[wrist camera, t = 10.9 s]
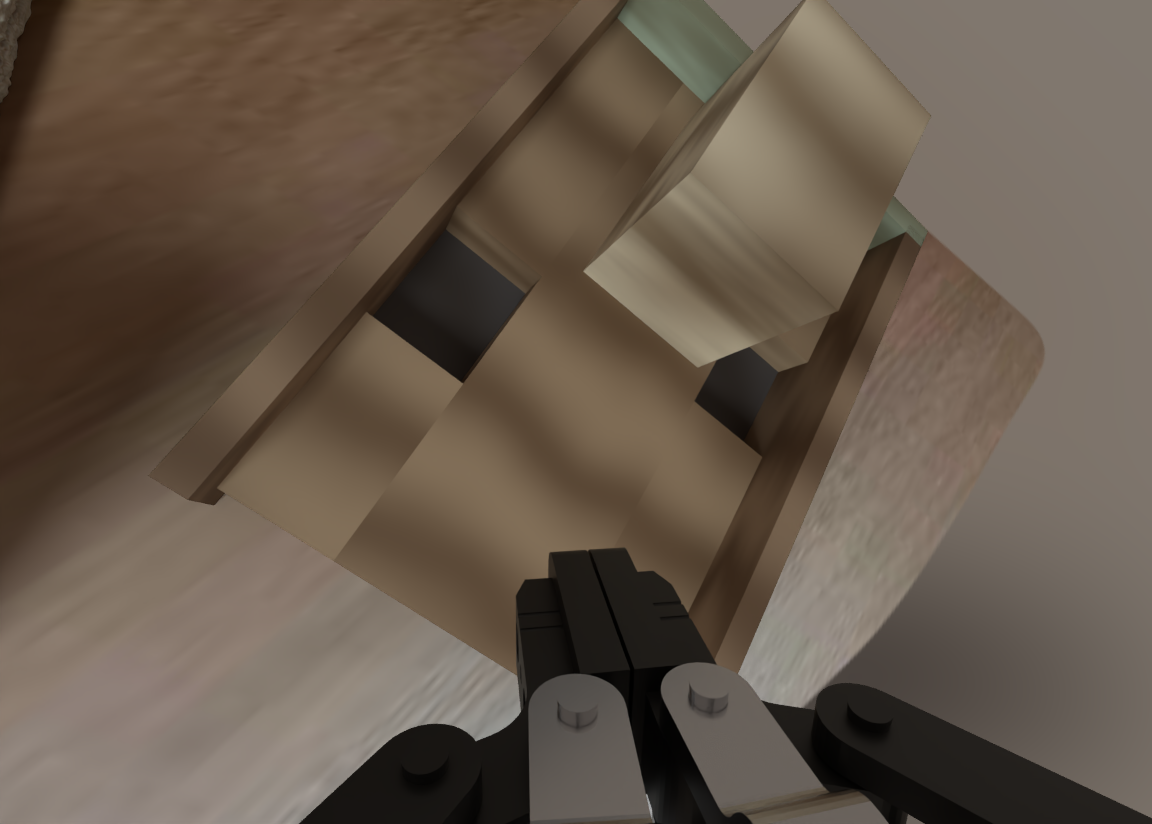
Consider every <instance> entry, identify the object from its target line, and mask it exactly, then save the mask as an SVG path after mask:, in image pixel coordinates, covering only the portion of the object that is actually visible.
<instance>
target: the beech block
mask: <svg viewBox="0 0 1152 824" xmlns="http://www.w3.org/2000/svg"><path fill="white" fill-rule="evenodd" d="M930 117H931V115H930V114H929V113H928V112H927V111H926V109H925V108H924V107H923V106H922V105H921V104H920V103H919V102H918V101H917V100H916V99H915V98H914V96H913V95H912V94H911V93H910V92H909V91H908V90H907V89H906V88H905V86H904V85H903V84H902V83H901V82H900V81H899V80H898V79H897V78H896V77H895V76H894V74H893V73H892V72H891V71H890V70H889V69H888V68H887V67H886V65H885V64H883V62H882V61H881V60H880V59H879V58H878V57H877V56H876V54H875V53H874V52H873V51H872V50H871V49H870V48H869V47H868V46H867V45H866V44H865V42H863V40H862V39H861V38H860V37H859V36H858V35H857V34H856V32H855V31H854V30H853V29H852V28H851V27H850V26H849V25H848V24H847V23H846V21H845V20H844V19H843V18H842V17H841V16H840V15H839V14H838V13H837V12H836V10H834V8H833V7H832V6H831V5H830V4H829V3H828V2H827V1H826V0H802V2H801V3H800V4H799V5H798V6H797V7H796V8H795V9H794V10H793V11H792V12H791V13H790V14H789V15H788V16H787V17H786V18H785V20H784V21H783V22H782V23H781V24H780V25H779V26H778V27H777V28H776V29H775V30H774V31H773V32H772V33H771V34H770V35H769V37H768V38H767V39H766V40H765V41H764V42H763V43H762V44H761V45H760V46H759V47H758V48H757V49H756V50H755V51H754V52H753V53H752V54H751V56H750V57H749V58H748V59H747V60H746V61H745V62H744V63H743V64H742V65H741V66H740V67H739V68H738V69H737V70H736V71H735V72H734V74H733V75H732V76H731V77H730V78H729V79H728V80H727V81H726V82H725V83H724V84H723V85H722V86H721V87H720V88H719V89H718V90H717V92H716V93H715V94H714V95H713V96H712V97H711V98H710V99H709V100H708V101H707V102H706V103H705V104H704V105H703V106H702V107H701V108H700V110H699V111H698V112H697V113H696V114H695V115H694V116H693V117H692V118H691V119H690V120H689V122H688V123H687V125H686V126H685V128H684V129H683V130H682V132H681V133H680V135H679V136H678V137H677V139H676V140H675V142H674V143H673V145H672V146H671V147H670V149H669V150H668V152H667V153H666V154H665V156H664V157H663V159H662V160H661V162H660V163H659V164H658V166H657V167H656V169H655V170H654V171H653V173H652V174H651V176H650V177H649V179H648V180H647V181H646V183H645V184H644V186H643V187H642V189H641V190H640V191H639V193H638V194H637V196H636V197H635V198H634V200H633V201H632V203H631V204H630V206H629V207H628V208H627V210H626V211H625V213H624V214H623V215H622V217H621V218H620V220H619V221H618V223H617V224H616V225H615V227H614V228H613V230H612V231H611V232H610V234H609V235H608V237H607V238H606V240H605V241H604V242H603V244H602V245H601V247H600V248H599V250H598V251H597V252H596V254H595V255H594V257H593V258H592V259H591V261H590V262H589V264H588V265H587V267H586V268H585V269H584V271H583V272H585V273H586V274H587V275H588V276H589V277H591V278H592V279H593V280H594V281H595V282H596V283H598V284H599V285H600V286H601V287H602V288H604V289H605V290H606V291H607V292H608V293H610V294H611V295H612V296H613V297H614V298H615V299H617V300H618V301H619V302H620V303H621V304H623V305H624V306H625V307H626V308H627V309H629V310H630V311H631V312H632V313H633V314H634V315H636V316H637V317H638V318H639V319H640V320H642V321H643V322H644V323H645V324H646V325H648V326H649V327H650V328H651V329H652V330H653V331H655V332H656V333H657V334H658V335H659V336H661V337H662V338H663V339H664V340H665V341H667V342H668V343H669V344H670V345H671V346H672V347H674V348H675V349H676V350H677V351H678V352H680V353H681V354H682V355H683V356H684V357H686V358H687V359H688V360H689V361H690V362H691V363H693V364H694V365H695V366H696V367H697V368H698V367H700V366H703V365H705V364H708V363H710V362H713V361H715V360H718V359H720V358H723V357H725V356H728V355H730V354H733V353H735V352H738V351H740V350H743V349H745V348H747V347H750V346H752V345H755V344H757V343H760V342H762V341H765V340H767V339H770V338H772V337H775V336H777V335H780V334H782V333H785V332H787V331H790V330H792V329H795V328H797V327H800V326H802V325H805V324H807V323H810V322H812V321H815V320H817V319H820V318H822V317H824V316H827V315H829V314H832V313H834V312H837V311H839V309H840V306H841V304H842V302H843V300H844V298H845V296H846V294H847V292H848V290H849V288H850V285H851V283H852V281H853V279H854V277H855V275H856V273H857V271H858V269H859V267H860V264H861V262H862V260H863V258H864V256H865V254H866V252H867V250H868V248H869V246H870V243H871V241H872V239H873V237H874V235H875V233H876V231H877V229H878V227H879V225H880V222H881V220H882V218H883V216H884V214H885V212H886V210H887V208H888V206H889V204H890V201H891V199H892V197H893V195H894V193H895V191H896V189H897V186H898V185H899V182H900V180H901V178H902V176H903V174H904V172H905V170H906V168H907V166H908V164H909V162H910V159H911V157H912V155H913V153H914V151H915V149H916V147H917V145H918V143H919V140H920V138H921V136H922V134H923V132H924V130H925V128H926V126H927V124H928V122H929V120H930Z"/></svg>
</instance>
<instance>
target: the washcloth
mask: <svg viewBox="0 0 1152 824" xmlns="http://www.w3.org/2000/svg"><path fill="white" fill-rule="evenodd" d="M31 1H32V0H0V103H1V102H2V101H3V98H4V97H5V96H6V95H7V94H8V87H9V86H10V85H11V81H10V79H9V78H10V77H11V75H12V70H13V69H14V67H13V62H14V60H15V59H16V58H17V50H18V44H17V38H18V37H19V36H20V35H21V34H22V33H23V31H24V27H25V23H26V22H27V20H28V19H29V17H30V16H31V9H30V6H31Z"/></svg>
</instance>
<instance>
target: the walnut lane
mask: <svg viewBox="0 0 1152 824" xmlns="http://www.w3.org/2000/svg"><path fill="white" fill-rule="evenodd" d="M752 53H753V51H752V50H751V49H750V48H749V47H748V46H747V45H746V44H745V43H744V42H743V41H742V40H741V38H740V37H739V36H738V35H737V34H735V32H734V31H733V30H732V29H731V28H730V27H729V26H728V25H727V24H726V23H725V22H724V21H723V20H722V19H721V18H720V17H719V16H718V15H717V14H716V13H715V12H714V11H713V10H712V9H711V8H710V7H709V6H708V5H707V4H706V2H705V1H704V0H580V1H579V2H578V3H577V4H576V5H575V7H574V8H573V9H572V10H571V11H570V12H569V13H568V14H567V15H566V16H565V18H564V19H563V20H562V21H561V22H560V23H559V24H558V25H557V26H556V27H555V29H554V30H553V31H552V32H551V33H550V34H549V35H548V36H547V37H546V38H545V40H544V41H543V42H542V43H541V44H540V45H539V46H538V47H537V48H536V49H535V51H534V52H533V53H532V54H531V55H530V56H529V57H528V58H527V59H526V61H525V62H524V63H523V64H522V65H521V66H520V67H519V68H518V69H517V70H516V72H515V73H514V74H513V75H512V76H511V77H510V78H509V79H508V80H507V81H506V83H505V84H504V85H503V86H502V87H501V88H500V89H499V90H498V91H497V92H496V94H495V95H494V96H493V97H492V98H491V99H490V100H489V101H488V102H487V103H486V105H485V106H484V107H483V108H482V109H481V110H480V111H479V112H478V113H477V114H476V116H475V117H474V118H473V119H472V120H471V121H470V122H469V123H468V124H467V125H466V127H465V128H464V129H463V130H462V131H461V132H460V133H459V134H458V135H457V136H456V138H455V139H454V140H453V141H452V142H451V143H450V144H449V145H448V146H447V147H446V149H445V150H444V151H443V152H442V153H441V154H440V155H439V156H438V157H437V158H436V160H435V161H434V162H433V163H432V164H431V165H430V166H429V167H428V168H427V169H426V171H425V172H424V173H423V174H422V175H421V176H420V177H419V178H418V179H417V180H416V182H415V183H414V184H413V185H412V186H411V187H410V188H409V189H408V190H407V191H406V193H405V194H404V195H403V196H402V197H401V198H400V199H399V200H398V201H397V202H396V204H395V205H394V206H393V207H392V208H391V209H390V210H389V211H388V212H387V214H386V215H385V216H384V217H383V218H382V219H381V220H380V221H379V222H378V223H377V225H376V226H375V227H374V228H373V229H372V230H371V231H370V232H369V233H368V234H367V236H366V237H365V238H364V239H363V240H362V241H361V242H360V243H359V244H358V245H357V247H356V248H355V249H354V250H353V251H352V252H351V253H350V254H349V255H348V256H347V258H346V259H345V260H344V261H343V262H342V263H341V264H340V265H339V266H338V267H337V269H336V270H335V271H334V272H333V273H332V274H331V275H330V276H329V277H328V278H327V280H326V281H325V282H324V283H323V284H322V285H321V286H320V287H319V288H318V289H317V291H316V292H315V293H314V294H313V295H312V296H311V297H310V298H309V299H308V300H307V302H306V303H305V304H304V305H303V306H302V307H301V308H300V309H299V310H298V311H297V313H296V314H295V315H294V316H293V317H292V318H291V319H290V320H289V321H288V322H287V324H286V325H285V326H284V327H283V328H282V329H281V330H280V331H279V332H278V333H277V335H276V336H275V337H274V338H273V339H272V340H271V341H270V342H269V343H268V344H267V346H266V347H265V348H264V349H263V350H262V351H261V352H260V353H259V354H258V355H257V357H256V358H255V359H254V360H253V361H252V362H251V363H250V364H249V365H248V366H247V368H246V369H245V370H244V371H243V372H242V373H241V374H240V375H239V376H238V378H237V379H236V380H235V381H234V382H233V383H232V384H231V385H230V386H229V387H228V389H227V390H226V391H225V392H224V393H223V394H222V395H221V396H220V397H219V398H218V400H217V401H216V402H215V403H214V404H213V405H212V406H211V407H210V408H209V409H208V411H207V412H206V413H205V414H204V415H203V416H202V417H201V418H200V419H199V420H198V422H197V423H196V424H195V425H194V426H193V427H192V428H191V429H190V430H189V431H188V433H187V434H186V435H185V436H184V437H183V438H182V439H181V440H180V441H179V442H178V444H177V445H176V446H175V447H174V448H173V449H172V450H171V451H170V452H169V453H168V455H167V456H166V457H165V458H164V459H163V460H162V461H161V462H160V463H159V464H158V466H157V467H156V468H155V469H154V470H153V471H152V472H151V473H150V474H149V475H148V476H149V477H151V478H153V479H154V480H156V481H158V482H159V483H161V484H163V485H164V486H166V487H167V488H169V489H171V490H172V491H174V492H176V493H177V494H179V495H181V496H182V497H184V498H185V499H187V500H191V501H196V502H201V503H205V504H210V505H215V504H216V502H217V501H218V500H219V499H220V498H221V496H222V495H223V494H224V493H226V494H227V495H229V496H230V497H232V498H234V499H235V500H237V501H238V502H240V503H242V504H243V505H245V506H246V507H248V508H250V509H251V510H253V511H254V512H256V513H258V514H259V515H261V516H262V517H264V518H266V519H267V520H269V521H270V522H272V523H274V524H275V525H277V526H278V527H280V528H282V529H283V530H285V531H286V532H288V533H290V534H291V535H293V536H294V537H296V538H298V539H299V540H301V541H302V542H304V543H306V544H307V545H309V546H310V547H312V548H314V549H315V550H317V551H318V552H320V553H322V554H323V555H325V556H326V557H328V558H330V559H331V560H333V561H334V562H336V563H338V564H339V565H341V566H342V567H344V568H346V569H347V570H349V571H350V572H352V573H354V574H355V575H357V576H358V577H360V578H362V579H363V580H365V581H366V582H368V583H370V584H371V585H373V586H374V587H376V588H378V589H379V590H381V591H382V592H384V593H386V594H387V595H389V596H390V597H392V598H394V599H395V600H397V601H398V602H400V603H402V604H403V605H405V606H406V607H408V608H410V609H411V610H413V611H414V612H416V613H418V614H419V615H421V616H422V617H424V618H426V619H427V620H429V621H431V622H432V623H434V624H435V625H437V626H439V627H440V628H442V629H443V630H445V631H447V632H448V633H450V634H451V635H453V636H455V637H456V638H458V639H459V640H461V641H463V642H464V643H466V644H467V645H469V646H471V647H472V648H474V649H475V650H477V651H479V652H480V653H482V654H483V655H485V656H487V657H488V658H490V659H491V660H493V661H495V662H496V663H498V664H499V665H501V666H503V667H504V668H506V669H507V670H509V671H511V672H512V673H514V674H515V675H517V667H516V594H517V592H518V591H519V589H520V587H521V585H522V584H523V582H524V580H525V579H540V578H548V559H549V553H550V552H558V551H574V550H587V552H588V550H589V549H605V548H621V547H625V548H626V549H627V551H628V553H629V555H630V557H631V559H632V561H633V564H634V566H635V568H636V570H637V572H641V571H655V572H656V573H657V574H659V575H660V576H661V577H663V578H664V579H665V580H667V581H668V582H669V583H671V584H672V586H673V587H674V589H675V591H676V593H677V595H678V596H679V598H680V600H681V604H683V605H684V607H685V609H686V610H687V612H688V614H689V619H690V618H691V619H692V621H693V623H694V625H695V626H696V628H697V630H698V632H699V633H700V635H701V637H702V639H703V641H704V642H705V644H706V646H707V648H708V649H709V651H710V653H711V655H712V656H713V658H714V660H715V662H716V664H717V665H719V666H722V667H725V668H727V669H729V670H731V671H733V672H735V673H737V674H738V672H739V670H740V668H741V665H742V663H743V661H744V658H745V656H746V654H747V651H748V649H749V647H750V644H751V642H752V640H753V637H754V635H755V633H756V630H757V628H758V626H759V623H760V621H761V619H762V616H763V614H764V612H765V609H766V607H767V605H768V602H769V600H770V598H771V595H772V593H773V591H774V588H775V586H776V584H777V581H778V579H779V577H780V574H781V572H782V570H783V567H784V565H785V563H786V560H787V558H788V556H789V553H790V551H791V549H792V546H793V544H794V542H795V539H796V537H797V535H798V532H799V530H800V528H801V525H802V523H803V521H804V518H805V516H806V514H807V511H808V509H809V507H810V504H811V502H812V500H813V497H814V495H815V493H816V490H817V488H818V486H819V483H820V481H821V479H822V476H823V474H824V472H825V469H826V467H827V465H828V462H829V460H830V458H831V455H832V453H833V451H834V448H835V446H836V444H837V441H838V439H839V437H840V434H841V432H842V430H843V428H844V425H845V423H846V421H847V418H848V416H849V414H850V411H851V409H852V407H853V404H854V402H855V400H856V397H857V395H858V393H859V390H860V388H861V386H862V383H863V381H864V379H865V376H866V374H867V372H868V369H869V367H870V365H871V362H872V360H873V358H874V355H875V353H876V351H877V348H878V346H879V344H880V341H881V339H882V337H883V334H884V332H885V330H886V327H887V325H888V323H889V320H890V318H891V316H892V313H893V311H894V309H895V306H896V304H897V302H898V299H899V297H900V295H901V292H902V290H903V288H904V285H905V283H906V281H907V278H908V276H909V274H910V271H911V269H912V267H913V264H914V262H915V260H916V257H917V255H918V253H919V250H920V248H921V246H922V243H923V241H924V239H925V236H926V234H927V232H928V231H927V230H926V229H925V228H924V227H923V226H922V225H921V224H920V223H919V222H918V221H917V220H916V218H915V217H914V216H913V215H912V214H911V213H910V212H909V211H908V210H907V209H906V208H905V207H904V206H903V205H902V204H901V203H900V202H899V201H898V200H897V199H896V198H895V197H894V196H893V197H892V199H891V201H890V204H889V206H888V208H887V210H886V212H885V214H884V216H883V218H882V220H881V222H880V225H879V227H878V229H877V231H876V233H875V235H874V237H873V239H872V241H871V243H870V246H869V248H868V250H867V252H866V254H865V256H864V258H863V260H862V262H861V264H860V267H859V269H858V271H857V273H856V275H855V277H854V279H853V281H852V283H851V285H850V288H849V290H848V292H847V294H846V296H845V298H844V300H843V302H842V304H841V306H840V309H839V311H837V312H834V313H832V314H829V315H827V316H824V317H822V318H820V319H817V320H815V321H812V322H810V323H807V324H805V325H802V326H800V327H797V328H795V329H792V330H790V331H787V332H785V333H782V334H780V335H777V336H775V337H772V338H770V339H767V340H765V341H762V342H760V343H757V344H755V345H752V346H750V347H747V348H745V349H743V350H740V351H738V352H735V353H733V354H730V355H728V356H725V357H723V358H720V359H718V360H715V361H713V362H710V363H708V364H705V365H703V366H700V367H698V368H697V367H696V366H695V365H694V364H693V363H691V362H690V361H689V360H688V359H687V358H686V357H684V356H683V355H682V354H681V353H680V352H678V351H677V350H676V349H675V348H674V347H672V346H671V345H670V344H669V343H668V342H667V341H665V340H664V339H663V338H662V337H661V336H659V335H658V334H657V333H656V332H655V331H653V330H652V329H651V328H650V327H649V326H648V325H646V324H645V323H644V322H643V321H642V320H640V319H639V318H638V317H637V316H636V315H634V314H633V313H632V312H631V311H630V310H629V309H627V308H626V307H625V306H624V305H623V304H621V303H620V302H619V301H618V300H617V299H615V298H614V297H613V296H612V295H611V294H610V293H608V292H607V291H606V290H605V289H604V288H602V287H601V286H600V285H599V284H598V283H596V282H595V281H594V280H593V279H592V278H591V277H589V276H588V275H587V274H586V273H585V272H583V271H584V269H585V268H586V267H587V265H588V264H589V262H590V261H591V259H592V258H593V257H594V255H595V254H596V252H597V251H598V250H599V248H600V247H601V245H602V244H603V242H604V241H605V240H606V238H607V237H608V235H609V234H610V232H611V231H612V230H613V228H614V227H615V225H616V224H617V223H618V221H619V220H620V218H621V217H622V215H623V214H624V213H625V211H626V210H627V208H628V207H629V206H630V204H631V203H632V201H633V200H634V198H635V197H636V196H637V194H638V193H639V191H640V190H641V189H642V187H643V186H644V184H645V183H646V181H647V180H648V179H649V177H650V176H651V174H652V173H653V171H654V170H655V169H656V167H657V166H658V164H659V163H660V162H661V160H662V159H663V157H664V156H665V154H666V153H667V152H668V150H669V149H670V147H671V146H672V145H673V143H674V142H675V140H676V139H677V137H678V136H679V135H680V133H681V132H682V130H683V129H684V128H685V126H686V125H687V123H688V122H689V120H690V119H691V118H692V117H693V116H694V115H695V114H696V113H697V112H698V111H699V110H700V108H701V107H702V106H703V105H704V104H705V103H706V102H707V101H708V100H709V99H710V98H711V97H712V96H713V95H714V94H715V93H716V92H717V90H718V89H719V88H720V87H721V86H722V85H723V84H724V83H725V82H726V81H727V80H728V79H729V78H730V77H731V76H732V75H733V74H734V72H735V71H736V70H737V69H738V68H739V67H740V66H741V65H742V64H743V63H744V62H745V61H746V60H747V59H748V58H749V57H750V56H751V54H752Z"/></svg>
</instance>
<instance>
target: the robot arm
mask: <svg viewBox="0 0 1152 824" xmlns="http://www.w3.org/2000/svg"><path fill="white" fill-rule="evenodd" d="M516 667H517V677H518V684H519V696H520V706H521V713H520V714H519V716H518V717H517V718H516V719H515V720H514V721H513V722H512V723H511V724H509V725H508V726H507V727H506V728H504V729H502V730H501V731H499V732H497V733H495V734H493V735H491V736H488V737H486V738H483V739H481V740H478V741H475V740H474V738H473V737H472V736H470V735H469V734H468V733H467V732H465V731H464V730H462V729H460V728H457V727H455V726H451V725H446V724H427V725H421V726H417V727H414V728H411V729H408V730H406V731H404V732H402V733H400V734H398V735H397V736H395V737H393V738H392V739H391V740H389V741H388V742H387V743H386V744H385V745H383V746H382V747H381V748H380V749H379V750H378V751H377V752H376V753H375V754H374V755H373V756H372V757H370V758H369V759H368V760H367V761H366V762H365V763H364V764H363V765H362V766H361V767H360V768H359V769H357V770H356V771H355V772H354V773H353V774H352V775H351V776H350V777H349V778H348V779H347V780H346V781H345V782H343V783H342V784H341V785H340V786H339V787H338V788H337V789H336V790H335V791H334V792H333V793H332V794H330V795H329V796H328V797H327V798H326V799H325V800H324V801H323V802H322V803H321V804H320V805H319V806H318V807H316V808H315V809H314V810H313V811H312V812H311V813H310V814H309V815H308V816H307V817H306V818H305V819H303V820H302V821H301V822H300V823H299V824H906V821H907V816H908V814H909V815H911V816H913V817H914V818H916V819H918V820H919V821H921V822H923V823H925V824H1152V818H1150V817H1148V816H1146V815H1144V814H1141V813H1139V812H1137V811H1135V810H1133V809H1131V808H1129V807H1127V806H1124V805H1122V804H1120V803H1118V802H1116V801H1114V800H1112V799H1110V798H1108V797H1105V796H1103V795H1101V794H1099V793H1097V792H1095V791H1093V790H1091V789H1088V788H1086V787H1084V786H1082V785H1080V784H1077V783H1076V782H1074V781H1071V780H1069V779H1067V778H1065V777H1063V776H1061V775H1059V774H1057V773H1055V772H1052V771H1050V770H1048V769H1046V768H1044V767H1042V766H1040V765H1038V764H1035V763H1033V762H1031V761H1029V760H1027V759H1025V758H1023V757H1020V756H1018V755H1016V754H1014V753H1012V752H1010V751H1008V750H1006V749H1004V748H1001V747H999V746H997V745H995V744H993V743H990V742H989V741H987V740H984V739H982V738H980V737H978V736H976V735H974V734H972V733H970V732H967V731H965V730H963V729H961V728H959V727H957V726H955V725H952V724H950V723H948V722H946V721H944V720H942V719H940V718H938V717H936V716H933V715H931V714H929V713H927V712H925V711H923V710H920V709H918V708H916V707H914V706H912V705H910V704H908V703H906V702H904V701H901V700H900V699H897V698H895V697H893V696H891V695H889V694H887V693H885V692H882V691H880V690H877V689H875V688H871V687H868V686H865V685H860V684H852V683H841V684H835V685H832V686H828V687H827V688H825V689H823V690H822V691H821V692H820V693H819V695H818V697H817V700H816V706H815V710H811V709H805V708H798V707H791V706H784V705H778V704H773V703H768V702H765V701H762V700H760V698H759V697H758V695H757V694H756V693H755V691H754V690H753V688H752V687H751V686H750V685H749V684H748V682H747V681H746V680H744V679H743V678H742V677H741V676H739V675H738V674H737V673H735V672H733V671H731V670H729V669H727V668H725V667H722V666H719V665H717V664H716V662H715V660H714V658H713V656H712V655H711V653H710V651H709V649H708V648H707V646H706V644H705V642H704V641H703V639H702V637H701V635H700V633H699V632H698V630H697V628H696V626H695V625H694V623H693V621H692V619H691V618H690V619H689V614H688V612H687V610H686V609H685V607H684V605H683V604H681V600H680V598H679V596H678V595H677V593H676V591H675V589H674V587H673V586H672V584H671V583H669V582H668V581H667V580H665V579H664V578H663V577H661V576H660V575H659V574H657V573H656V572H655V571H641V572H637V570H636V568H635V566H634V564H633V561H632V559H631V557H630V555H629V553H628V551H627V549H626V548H625V547H621V548H605V549H589V550H588V552H587V550H574V551H558V552H550V553H549V559H548V578H540V579H525V580H524V582H523V584H522V585H521V587H520V589H519V591H518V592H517V594H516ZM646 794H647V795H648V798H649V801H650V804H651V807H652V819H651V815H650V811H649V807H648V802H647V798H646Z"/></svg>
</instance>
